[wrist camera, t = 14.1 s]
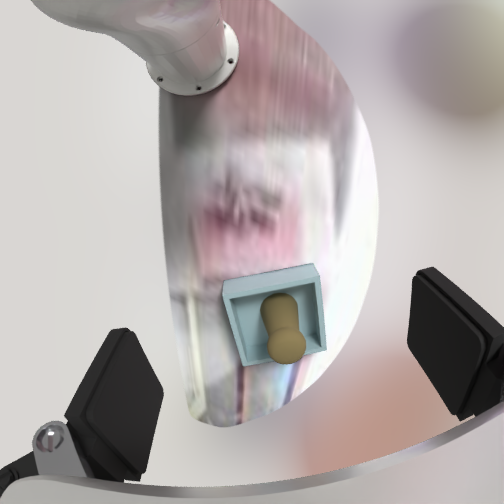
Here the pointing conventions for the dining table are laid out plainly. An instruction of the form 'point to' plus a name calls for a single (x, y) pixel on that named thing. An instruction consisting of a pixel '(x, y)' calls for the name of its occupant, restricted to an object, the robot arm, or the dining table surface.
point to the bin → (251, 297)
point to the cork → (282, 328)
